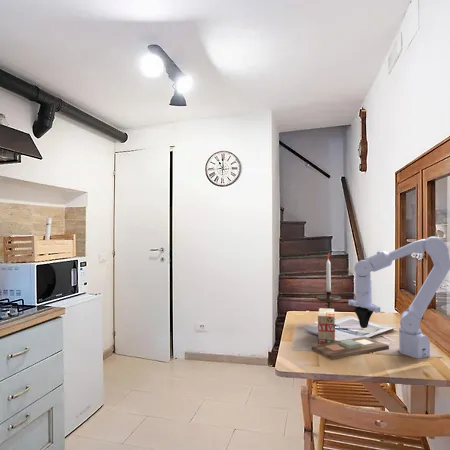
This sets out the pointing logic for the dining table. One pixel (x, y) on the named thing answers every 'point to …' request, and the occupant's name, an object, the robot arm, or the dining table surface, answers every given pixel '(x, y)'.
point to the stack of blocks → (326, 326)
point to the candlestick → (328, 288)
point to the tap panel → (349, 352)
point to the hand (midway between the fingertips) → (363, 327)
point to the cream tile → (365, 342)
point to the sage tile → (349, 344)
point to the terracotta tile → (334, 348)
